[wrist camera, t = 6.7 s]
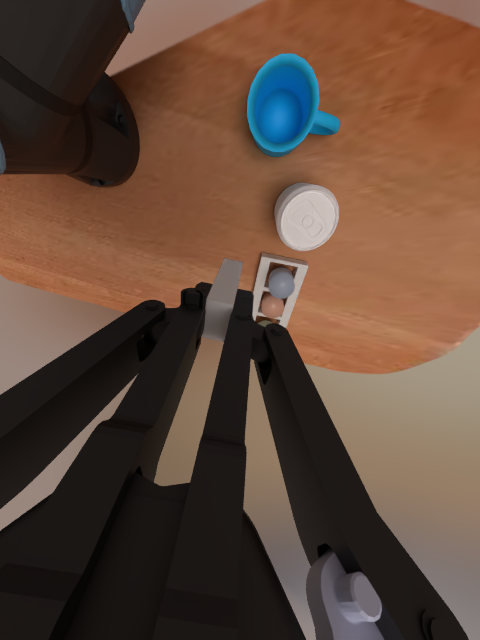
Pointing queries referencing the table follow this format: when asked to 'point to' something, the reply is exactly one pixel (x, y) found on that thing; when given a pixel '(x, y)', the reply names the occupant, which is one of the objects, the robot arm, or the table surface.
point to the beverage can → (306, 216)
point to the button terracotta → (272, 306)
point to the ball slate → (281, 283)
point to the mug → (286, 106)
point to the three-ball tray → (264, 286)
